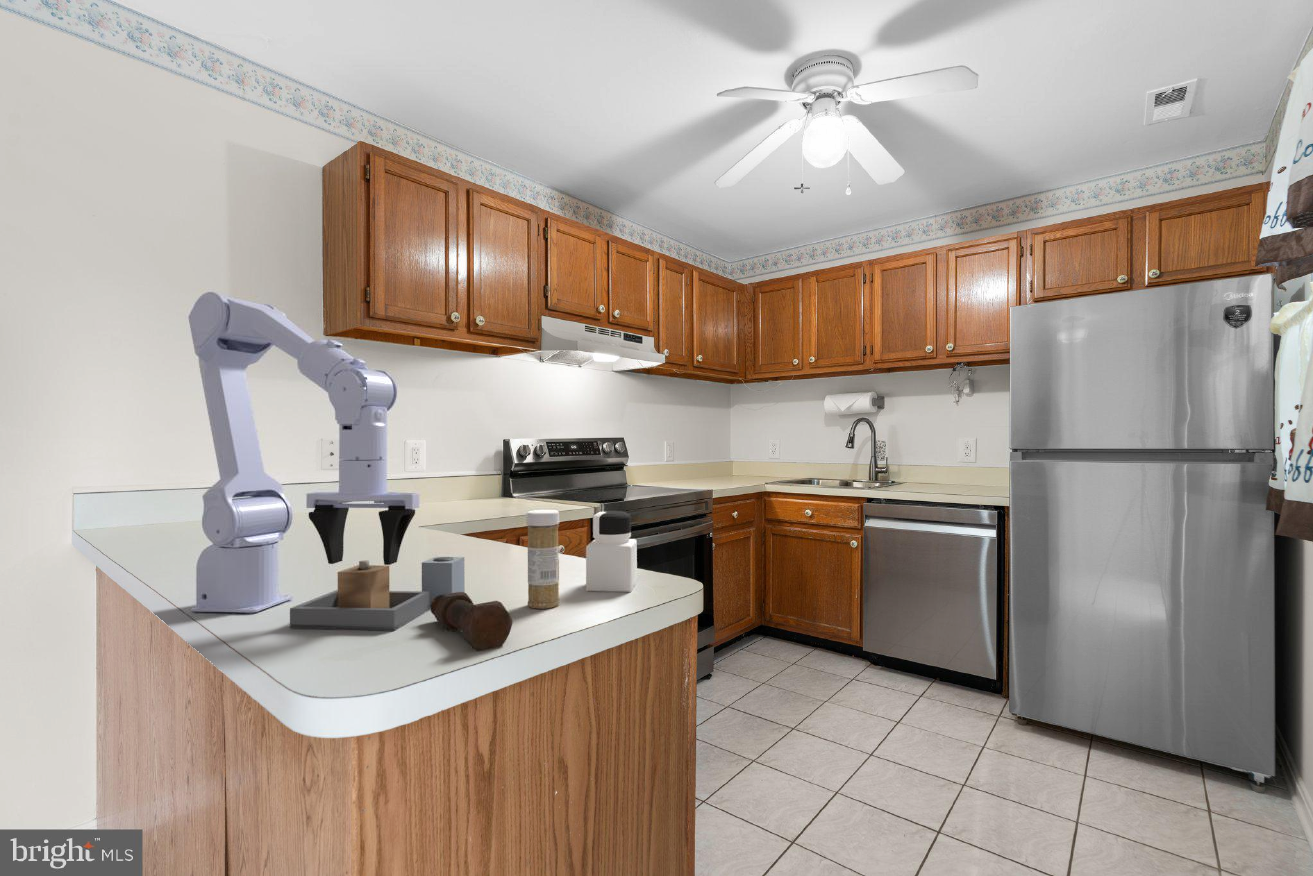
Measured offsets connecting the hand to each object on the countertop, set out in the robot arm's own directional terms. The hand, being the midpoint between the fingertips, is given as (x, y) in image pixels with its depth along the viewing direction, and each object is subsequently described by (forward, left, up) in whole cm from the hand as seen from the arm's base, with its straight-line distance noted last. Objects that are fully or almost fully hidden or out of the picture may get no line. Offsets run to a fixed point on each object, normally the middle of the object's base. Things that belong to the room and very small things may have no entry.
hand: (362, 563), depth 81 cm
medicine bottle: (+30, +20, -8) cm, 37 cm away
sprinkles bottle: (+22, +8, -8) cm, 25 cm away
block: (0, 0, -7) cm, 7 cm away
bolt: (+16, -5, -8) cm, 18 cm away
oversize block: (+7, +10, -7) cm, 14 cm away
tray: (0, 0, -7) cm, 7 cm away
